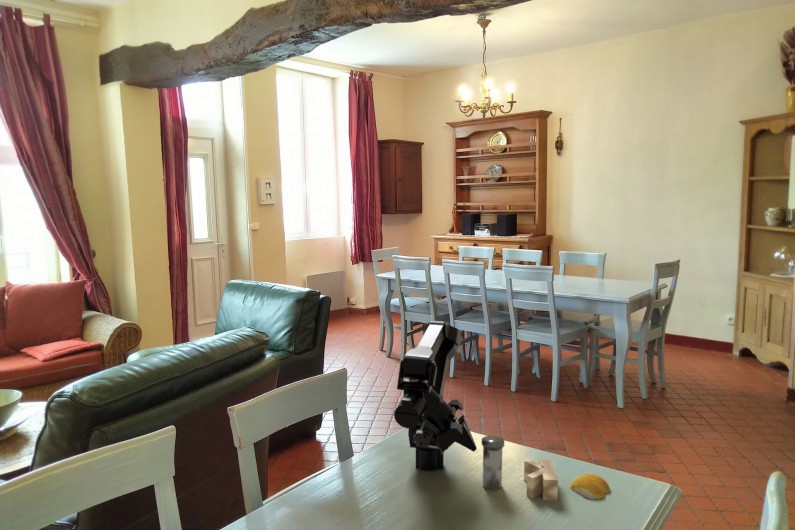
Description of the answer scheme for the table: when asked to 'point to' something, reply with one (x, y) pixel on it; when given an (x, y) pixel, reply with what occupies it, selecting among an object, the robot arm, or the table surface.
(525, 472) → the v block
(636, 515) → the table surface
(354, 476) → the table surface
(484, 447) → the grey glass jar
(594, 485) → the bread roll
